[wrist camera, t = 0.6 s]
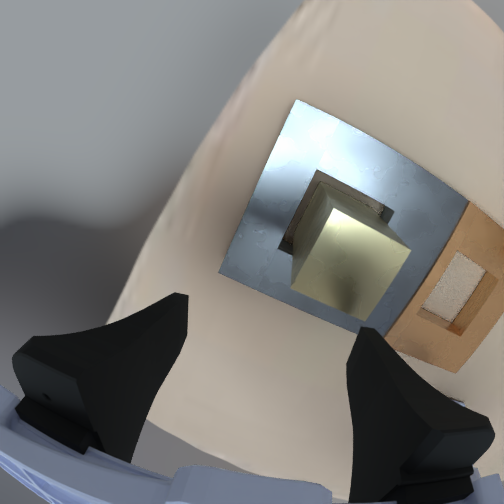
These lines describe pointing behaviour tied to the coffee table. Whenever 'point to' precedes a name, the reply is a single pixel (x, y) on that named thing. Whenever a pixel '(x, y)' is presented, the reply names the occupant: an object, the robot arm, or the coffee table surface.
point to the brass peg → (344, 253)
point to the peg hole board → (400, 221)
